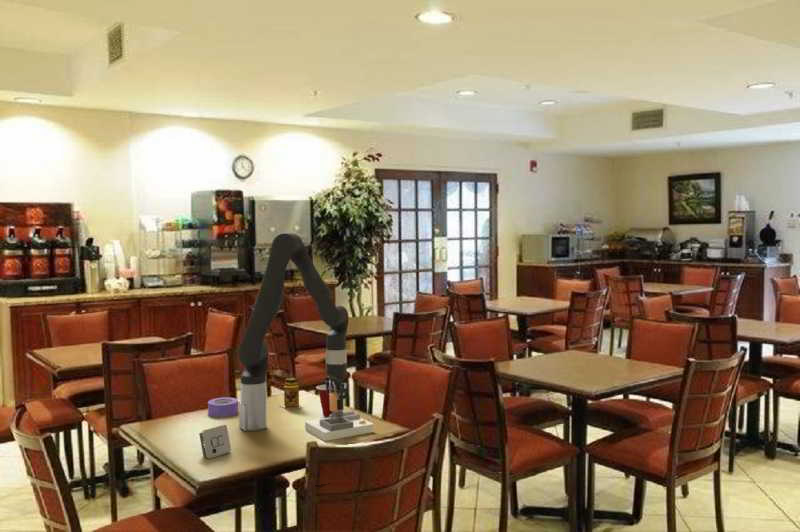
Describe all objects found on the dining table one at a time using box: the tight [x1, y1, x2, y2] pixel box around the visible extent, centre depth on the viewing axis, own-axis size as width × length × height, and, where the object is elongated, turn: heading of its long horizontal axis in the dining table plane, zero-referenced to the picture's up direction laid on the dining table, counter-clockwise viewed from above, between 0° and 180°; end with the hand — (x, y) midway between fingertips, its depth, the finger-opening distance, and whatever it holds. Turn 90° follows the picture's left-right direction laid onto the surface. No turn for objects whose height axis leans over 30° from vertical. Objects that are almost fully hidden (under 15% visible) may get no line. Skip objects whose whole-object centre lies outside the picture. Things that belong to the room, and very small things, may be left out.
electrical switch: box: [198, 424, 232, 460], centre depth 225 cm, size 9×5×9 cm, turn 141°
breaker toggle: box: [332, 410, 344, 418], centre depth 255 cm, size 3×3×5 cm
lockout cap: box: [330, 392, 345, 411], centre depth 246 cm, size 5×5×6 cm
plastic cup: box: [316, 383, 340, 418], centre depth 272 cm, size 11×11×12 cm
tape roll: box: [207, 396, 239, 418], centre depth 275 cm, size 12×12×5 cm
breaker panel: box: [304, 410, 375, 442], centre depth 251 cm, size 20×16×5 cm
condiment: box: [278, 377, 303, 411], centre depth 285 cm, size 7×8×12 cm
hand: (336, 407), depth 246 cm, fingers closed on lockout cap, 5 cm apart
